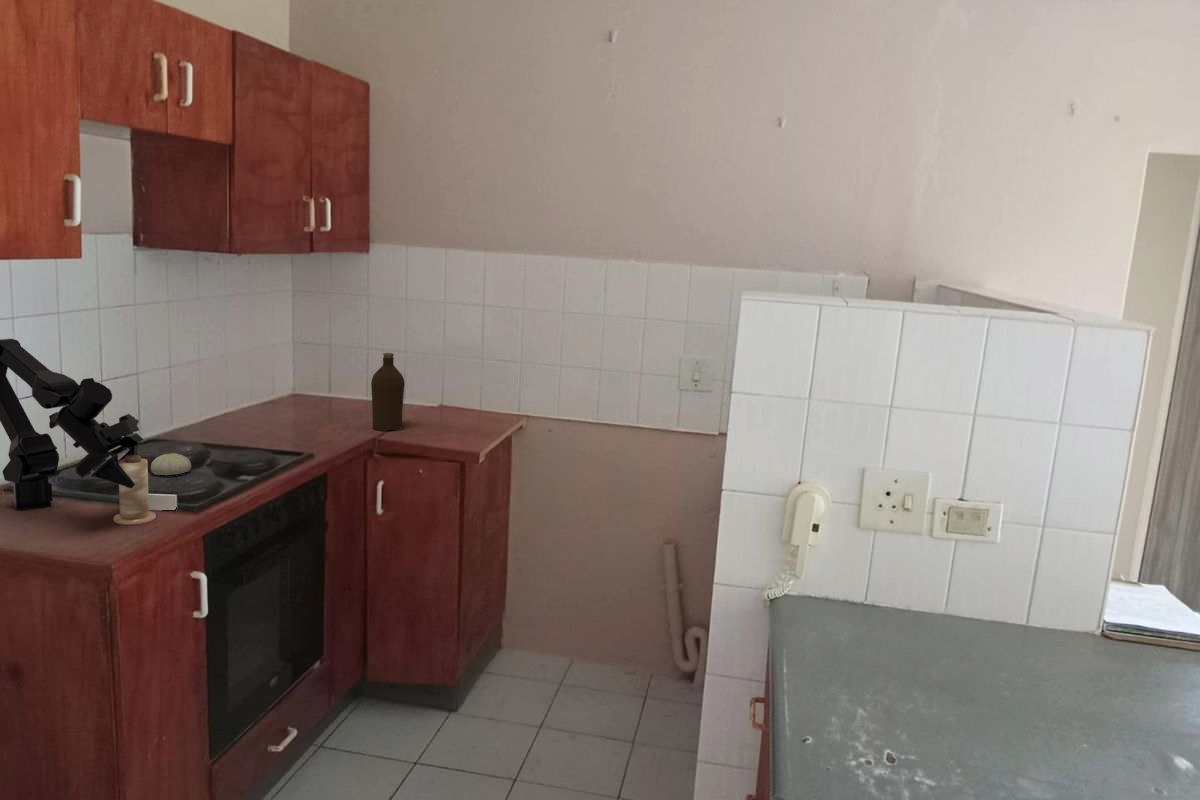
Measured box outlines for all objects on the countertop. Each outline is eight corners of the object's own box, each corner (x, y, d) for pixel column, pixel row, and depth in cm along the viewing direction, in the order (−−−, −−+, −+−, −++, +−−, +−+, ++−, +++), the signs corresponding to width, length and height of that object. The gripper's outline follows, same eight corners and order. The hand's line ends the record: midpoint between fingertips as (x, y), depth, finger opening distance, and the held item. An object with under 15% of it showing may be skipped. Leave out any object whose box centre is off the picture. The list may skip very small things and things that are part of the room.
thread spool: (123, 520, 184) (121, 461, 182) (117, 513, 189) (115, 455, 186) (151, 516, 188) (150, 458, 186) (145, 510, 192) (143, 452, 190)
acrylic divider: (129, 509, 194) (128, 494, 194) (131, 508, 195) (130, 493, 195) (175, 510, 195) (175, 495, 194) (177, 509, 196) (176, 494, 195)
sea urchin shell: (200, 466, 225) (177, 447, 220) (179, 490, 222) (155, 472, 217) (184, 459, 231) (161, 441, 226) (163, 483, 228) (139, 465, 223)
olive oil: (379, 433, 283) (380, 356, 278) (365, 426, 291) (366, 351, 286) (409, 430, 289) (410, 355, 285) (394, 424, 297) (396, 350, 293)
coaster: (118, 527, 183) (118, 524, 183) (109, 516, 189) (109, 514, 189) (160, 521, 188) (160, 518, 188) (150, 511, 194) (150, 508, 194)
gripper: (88, 413, 175) (146, 469, 177) (132, 396, 193) (185, 448, 196) (49, 449, 176) (108, 505, 178) (97, 430, 194) (149, 480, 197)
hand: (140, 482), depth 187 cm, fingers open, 6 cm apart
